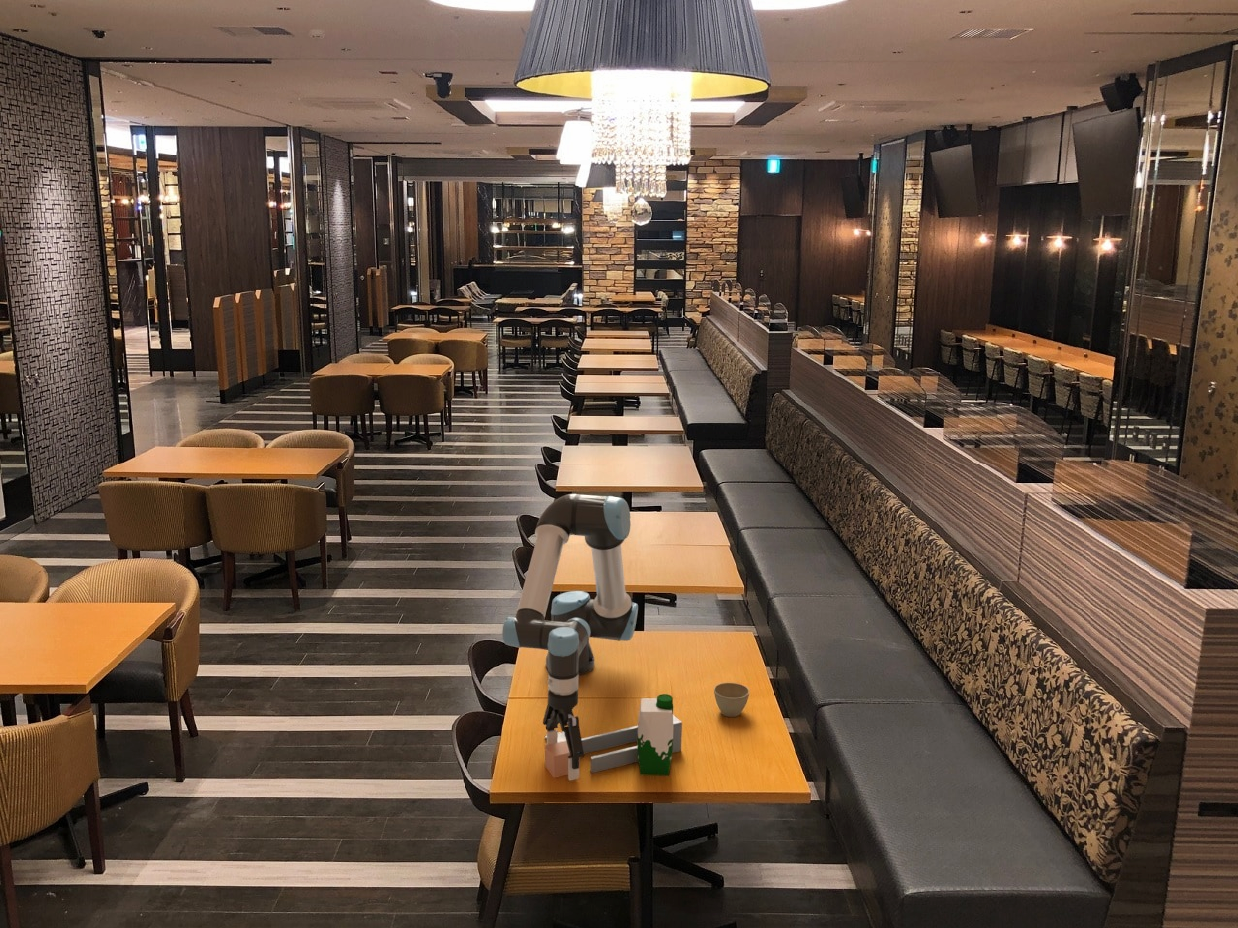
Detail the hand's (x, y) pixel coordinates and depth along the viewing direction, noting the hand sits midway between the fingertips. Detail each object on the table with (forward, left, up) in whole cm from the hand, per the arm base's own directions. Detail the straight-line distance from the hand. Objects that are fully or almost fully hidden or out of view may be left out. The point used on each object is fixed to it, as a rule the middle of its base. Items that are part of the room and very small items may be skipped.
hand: (562, 765), depth 266 cm
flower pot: (-7, +55, -1) cm, 56 cm away
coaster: (-12, +6, -1) cm, 13 cm away
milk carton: (+9, +22, -1) cm, 24 cm away
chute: (0, +19, -1) cm, 19 cm away
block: (0, -1, -1) cm, 1 cm away
